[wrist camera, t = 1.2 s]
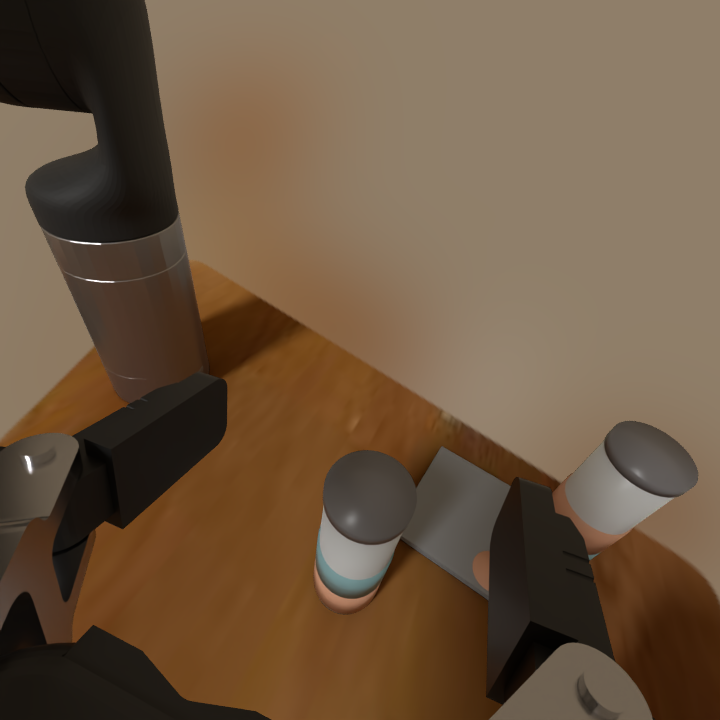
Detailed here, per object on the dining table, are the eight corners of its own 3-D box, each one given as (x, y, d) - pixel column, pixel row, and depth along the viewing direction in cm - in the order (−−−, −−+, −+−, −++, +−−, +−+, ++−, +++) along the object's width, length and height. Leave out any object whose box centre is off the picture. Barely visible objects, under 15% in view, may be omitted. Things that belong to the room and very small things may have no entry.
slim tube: (299, 587, 28) (304, 499, 19) (338, 533, 31) (357, 435, 22) (354, 632, 27) (387, 559, 18) (389, 570, 30) (432, 482, 21)
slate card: (390, 531, 32) (391, 528, 31) (440, 449, 38) (441, 445, 38) (560, 650, 27) (565, 648, 27) (584, 534, 34) (588, 531, 33)
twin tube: (515, 549, 32) (606, 459, 22) (530, 504, 35) (616, 409, 26) (575, 587, 30) (699, 507, 21) (585, 536, 33) (697, 447, 24)
